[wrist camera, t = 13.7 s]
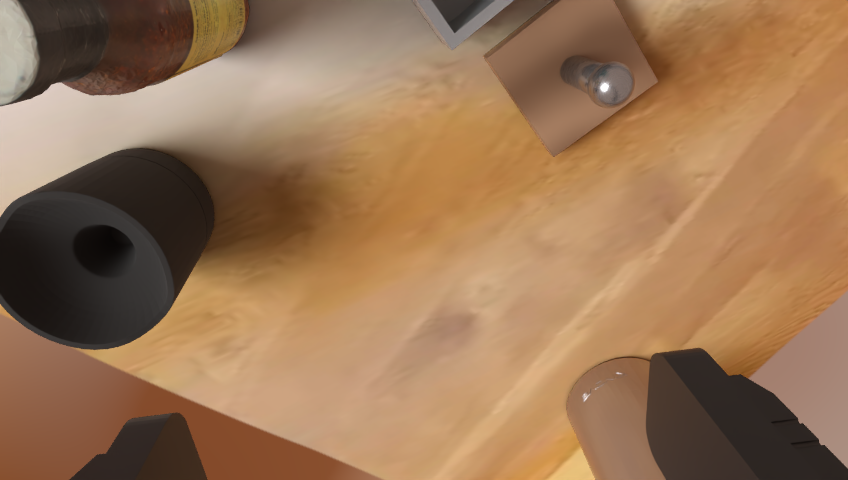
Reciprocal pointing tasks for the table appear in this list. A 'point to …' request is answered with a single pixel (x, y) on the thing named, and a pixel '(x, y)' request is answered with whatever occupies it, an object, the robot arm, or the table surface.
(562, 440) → the table surface
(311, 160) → the table surface
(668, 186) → the table surface
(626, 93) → the ball stud
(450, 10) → the bin
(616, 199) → the table surface
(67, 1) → the sauce bottle
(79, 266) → the pen holder
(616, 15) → the base
